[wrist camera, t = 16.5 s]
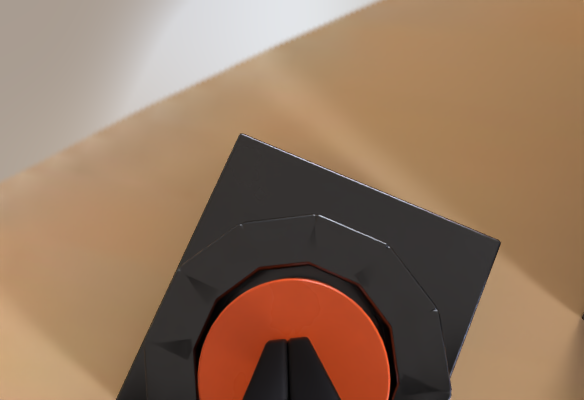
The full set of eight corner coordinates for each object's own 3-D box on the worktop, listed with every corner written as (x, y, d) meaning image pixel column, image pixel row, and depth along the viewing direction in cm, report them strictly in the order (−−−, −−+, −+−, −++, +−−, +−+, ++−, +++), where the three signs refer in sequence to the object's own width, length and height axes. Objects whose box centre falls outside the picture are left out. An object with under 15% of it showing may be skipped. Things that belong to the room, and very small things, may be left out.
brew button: (339, 473, 11) (345, 517, 9) (190, 400, 12) (164, 428, 10) (401, 316, 12) (419, 326, 10) (256, 252, 12) (245, 248, 10)
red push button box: (350, 524, 15) (375, 681, 10) (138, 419, 16) (39, 504, 10) (457, 248, 17) (538, 235, 11) (255, 163, 18) (228, 107, 12)
